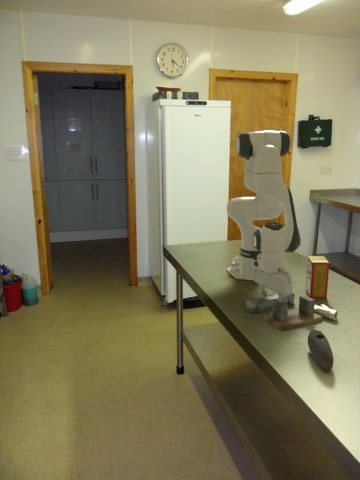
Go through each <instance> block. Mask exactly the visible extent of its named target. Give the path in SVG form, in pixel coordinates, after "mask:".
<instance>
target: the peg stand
mask: <svg viewBox="0 0 360 480" xmlns="http://www.w3.org/2000/svg"><path fill="white" fill-rule="evenodd" d="M315 300H316V299H312V298H310V297H309V296H308V295H305V294H303V295H299V300H298V307H296V308H292V309H289V305H285V304H284V303H282V302H280V301H276V302H273V309H272V313H270V314H266V315H264V316H263V320H264V321H265V322H267V323H268V324H270V325H272V326H273V327H274V328H277V330H280V331H281V332H283V331H288V330H292V329H296V328H299V327H303V326H307V325H311V324H315V323H318V322H322V321H323V316H320V315H318V314H316V313H314V305H315Z"/></svg>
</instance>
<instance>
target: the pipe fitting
mask: <svg viewBox="0 0 360 480" xmlns="http://www.w3.org/2000/svg"><path fill="white" fill-rule="evenodd" d="M314 313H316V314H318V315H320V316H322V318H326V319H330V320H332V321H336V320H337V317H338V310H336V309H333V308H330V307H328V306H327V305H326V304H325V303H322V304H320V305H317V304H314Z"/></svg>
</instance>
